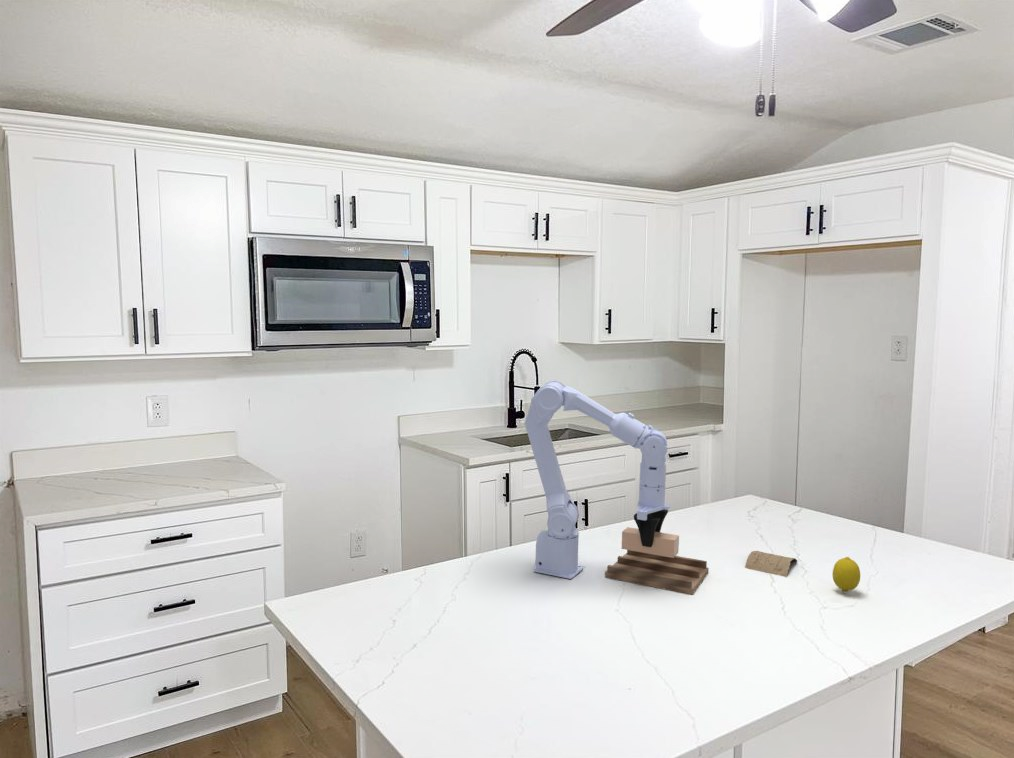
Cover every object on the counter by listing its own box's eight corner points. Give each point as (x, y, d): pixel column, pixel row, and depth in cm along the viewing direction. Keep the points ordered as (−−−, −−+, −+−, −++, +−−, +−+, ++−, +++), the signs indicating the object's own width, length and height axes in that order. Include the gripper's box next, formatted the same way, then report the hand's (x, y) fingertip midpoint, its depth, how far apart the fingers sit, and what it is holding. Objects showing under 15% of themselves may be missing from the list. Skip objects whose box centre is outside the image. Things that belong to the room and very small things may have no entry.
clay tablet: (786, 580, 173) (787, 569, 172) (742, 571, 178) (742, 560, 178) (798, 562, 185) (799, 551, 185) (756, 554, 190) (757, 544, 190)
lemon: (830, 594, 163) (832, 558, 163) (832, 585, 168) (834, 551, 167) (858, 599, 161) (860, 563, 160) (859, 590, 166) (862, 555, 165)
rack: (604, 577, 171) (605, 565, 170) (626, 557, 184) (626, 547, 184) (692, 594, 162) (693, 582, 161) (708, 572, 175) (708, 561, 175)
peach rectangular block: (621, 548, 170) (622, 531, 170) (627, 543, 174) (627, 527, 174) (673, 558, 165) (674, 540, 164) (678, 552, 168) (679, 535, 168)
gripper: (660, 494, 160) (658, 555, 161) (678, 480, 172) (675, 537, 174) (628, 489, 163) (626, 550, 164) (648, 476, 176) (646, 532, 177)
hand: (649, 543), depth 169 cm, fingers closed on peach rectangular block, 4 cm apart
